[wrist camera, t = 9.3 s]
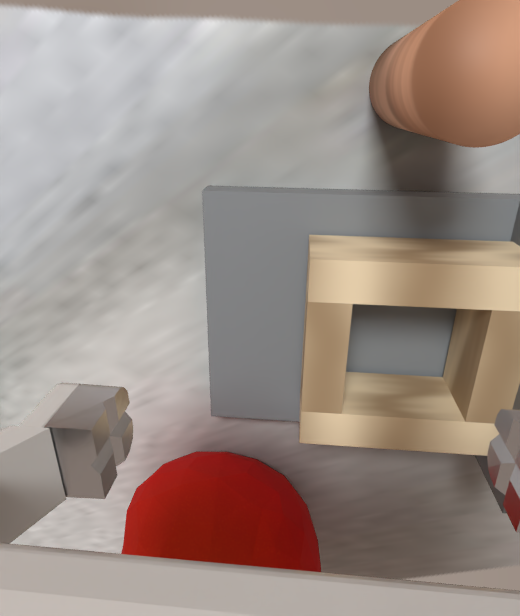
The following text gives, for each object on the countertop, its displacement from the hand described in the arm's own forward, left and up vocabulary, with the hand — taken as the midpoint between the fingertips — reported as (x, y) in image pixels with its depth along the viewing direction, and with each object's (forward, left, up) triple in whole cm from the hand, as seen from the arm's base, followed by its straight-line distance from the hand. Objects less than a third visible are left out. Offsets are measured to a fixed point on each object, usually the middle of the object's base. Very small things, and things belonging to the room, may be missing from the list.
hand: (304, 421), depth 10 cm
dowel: (-5, -7, -16) cm, 19 cm away
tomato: (+4, +19, -17) cm, 26 cm away
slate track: (-4, +5, -16) cm, 18 cm away
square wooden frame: (-5, +5, -15) cm, 16 cm away
